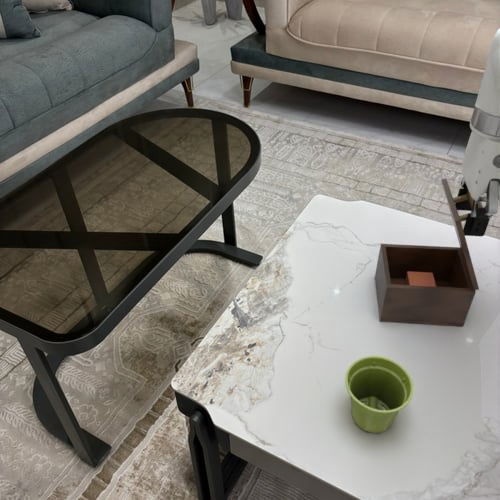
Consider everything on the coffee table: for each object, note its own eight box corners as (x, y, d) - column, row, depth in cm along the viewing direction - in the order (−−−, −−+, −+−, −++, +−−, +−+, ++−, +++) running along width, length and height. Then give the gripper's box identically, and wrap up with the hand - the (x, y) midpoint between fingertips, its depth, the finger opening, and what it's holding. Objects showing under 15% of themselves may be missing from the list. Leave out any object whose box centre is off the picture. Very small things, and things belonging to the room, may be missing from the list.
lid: (454, 221, 75) (487, 212, 73) (441, 179, 84) (470, 170, 82) (474, 290, 83) (503, 283, 82) (459, 246, 92) (486, 239, 90)
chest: (379, 321, 91) (386, 287, 85) (374, 277, 99) (380, 243, 94) (463, 326, 89) (476, 291, 83) (450, 281, 98) (461, 247, 92)
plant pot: (370, 456, 71) (379, 424, 66) (327, 408, 78) (332, 375, 72) (416, 423, 75) (428, 389, 70) (372, 379, 81) (379, 345, 76)
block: (427, 290, 95) (432, 272, 92) (431, 307, 92) (437, 290, 89) (403, 288, 96) (407, 271, 93) (406, 306, 92) (410, 288, 89)
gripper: (549, 150, 63) (506, 258, 75) (512, 94, 76) (480, 193, 88) (487, 148, 64) (454, 255, 75) (460, 93, 77) (436, 191, 88)
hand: (468, 221), depth 81 cm, fingers closed on lid, 6 cm apart
